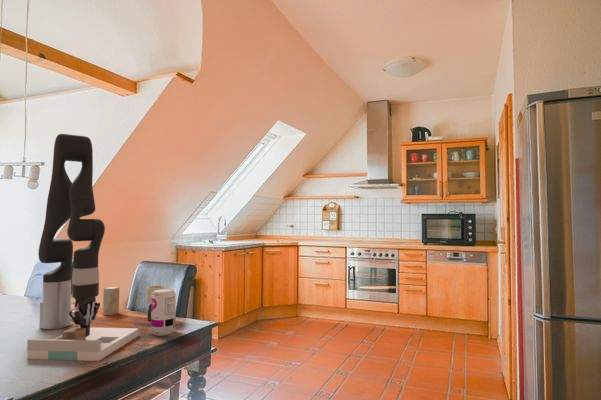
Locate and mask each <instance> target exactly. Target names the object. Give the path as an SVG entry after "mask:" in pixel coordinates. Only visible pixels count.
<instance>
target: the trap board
mask: <svg viewBox="0 0 601 400" xmlns="http://www.w3.org/2000/svg"><path fill="white" fill-rule="evenodd" d="M78 328H80V326H79V327H78ZM139 336H140V328H133V327H131V328H130V327H127V328H126V327H92V326H90V335H89V336H87V337H86V340H62V334H61V335H59V336H57V337H54V338H51V339H50V338H47V339H43V338H29V339H27V340H26V341H27V343H26V345H27V346H26V352H27V353H26V356H27V357H26V360H53V361H54V360H55V361H56V360H57V361H85V362H88V361H90V362H95V361H96V362H99V361H101V360H102V359H104V358H105V357H107V356H109V355H110V354H112V353H114V352H116V351H117V350H118V349H120V348H122V347H123V346H125V345H126V344H129V343H130V342H131V341H133V340H134V339H136V338H138V337H139ZM113 351H114V352H113Z"/></svg>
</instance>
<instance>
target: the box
mask: <svg viewBox="0 0 601 400" xmlns="http://www.w3.org/2000/svg"><path fill="white" fill-rule="evenodd" d="M102 296H103V297H102V298H103V300H102V301H103V302H102V315H104V316H113V315H116V314H119V312H120V287H119V286H110V287H106V288H103V295H102Z"/></svg>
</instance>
